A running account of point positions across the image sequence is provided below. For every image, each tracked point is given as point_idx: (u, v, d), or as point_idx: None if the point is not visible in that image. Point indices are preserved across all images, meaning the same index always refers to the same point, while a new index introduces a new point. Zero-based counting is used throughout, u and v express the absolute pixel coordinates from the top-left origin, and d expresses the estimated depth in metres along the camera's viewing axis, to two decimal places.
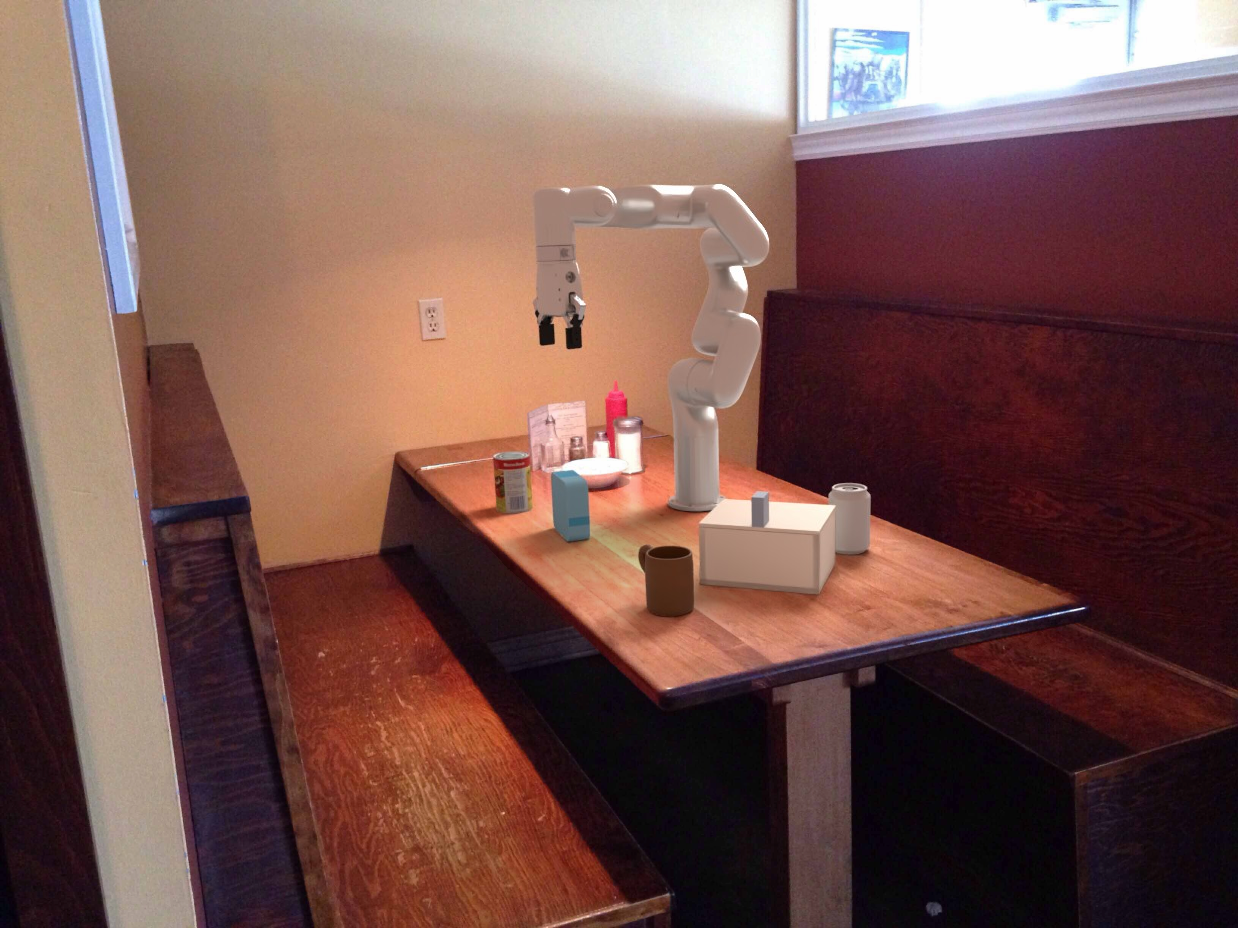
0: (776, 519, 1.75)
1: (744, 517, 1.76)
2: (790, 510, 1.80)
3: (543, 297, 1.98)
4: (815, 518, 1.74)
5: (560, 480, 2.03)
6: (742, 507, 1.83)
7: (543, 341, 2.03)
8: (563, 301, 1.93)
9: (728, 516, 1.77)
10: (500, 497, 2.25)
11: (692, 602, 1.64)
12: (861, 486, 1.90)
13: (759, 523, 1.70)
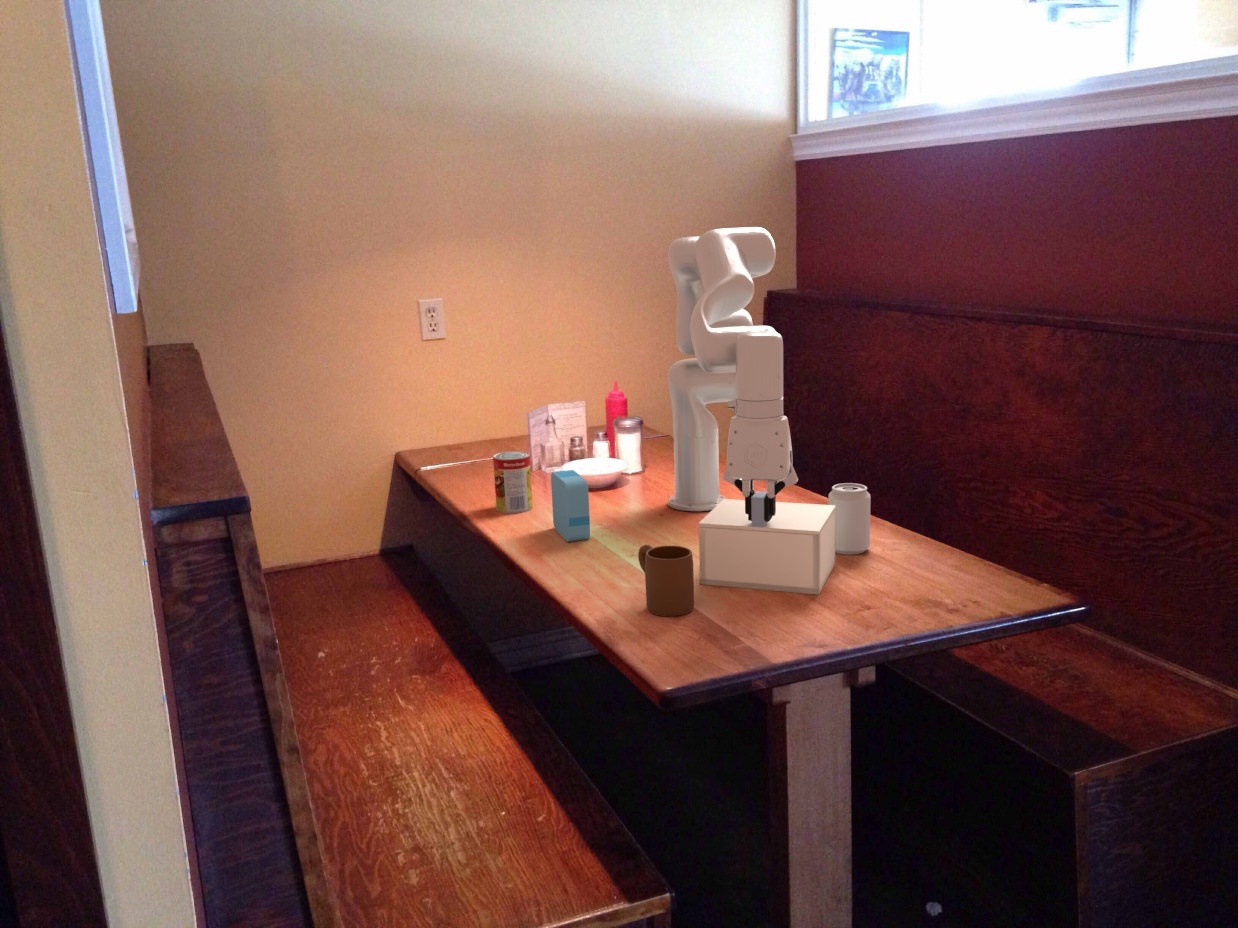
0: (776, 519, 1.75)
1: (744, 517, 1.76)
2: (790, 510, 1.80)
3: None
4: (815, 518, 1.74)
5: (560, 480, 2.03)
6: (742, 507, 1.83)
7: None
8: None
9: (728, 516, 1.77)
10: (500, 497, 2.25)
11: (692, 602, 1.64)
12: (861, 486, 1.90)
13: (759, 523, 1.70)
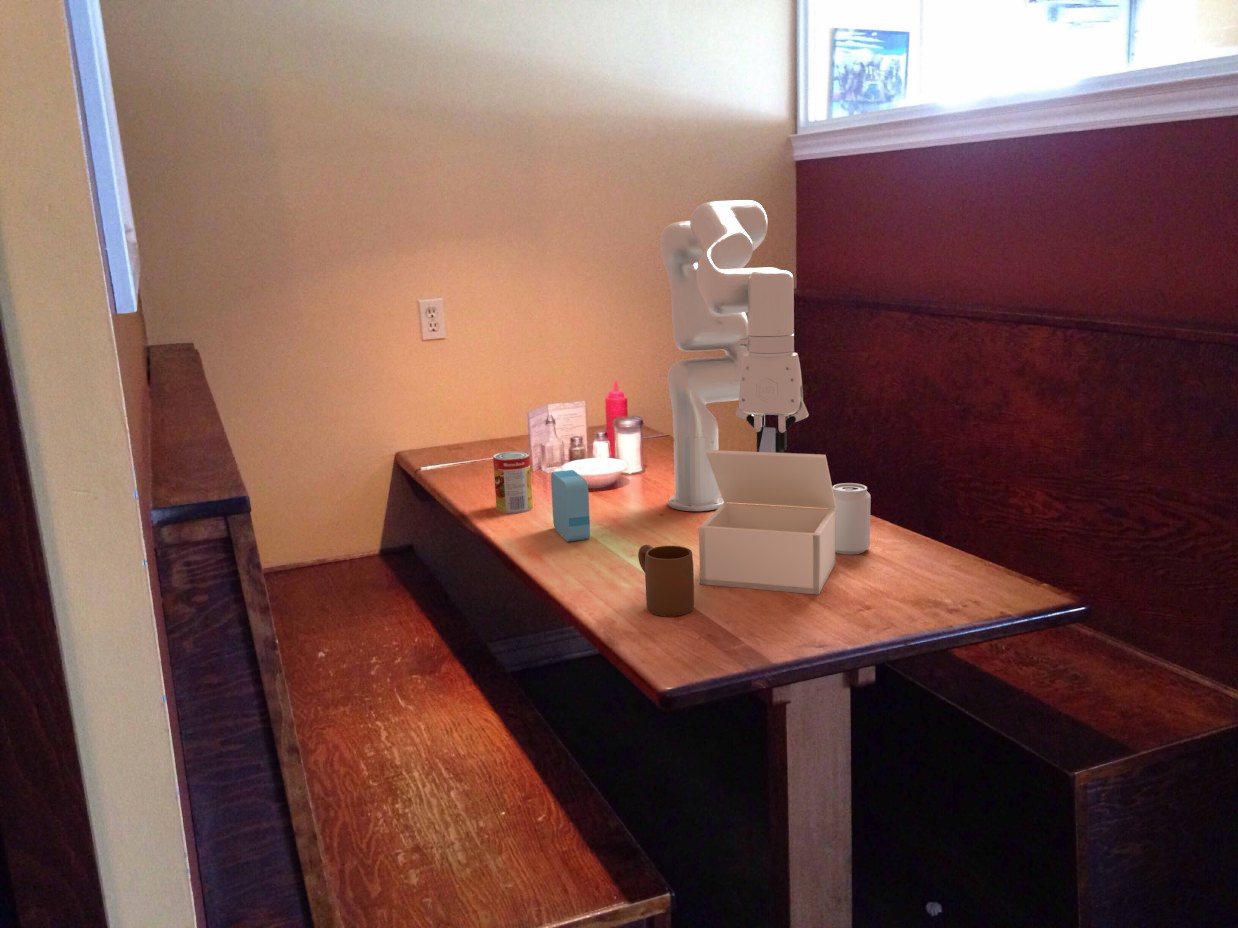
0: None
1: None
2: None
3: None
4: None
5: (560, 480, 2.03)
6: None
7: None
8: None
9: None
10: (500, 497, 2.25)
11: (692, 602, 1.64)
12: (861, 486, 1.90)
13: (767, 449, 1.73)
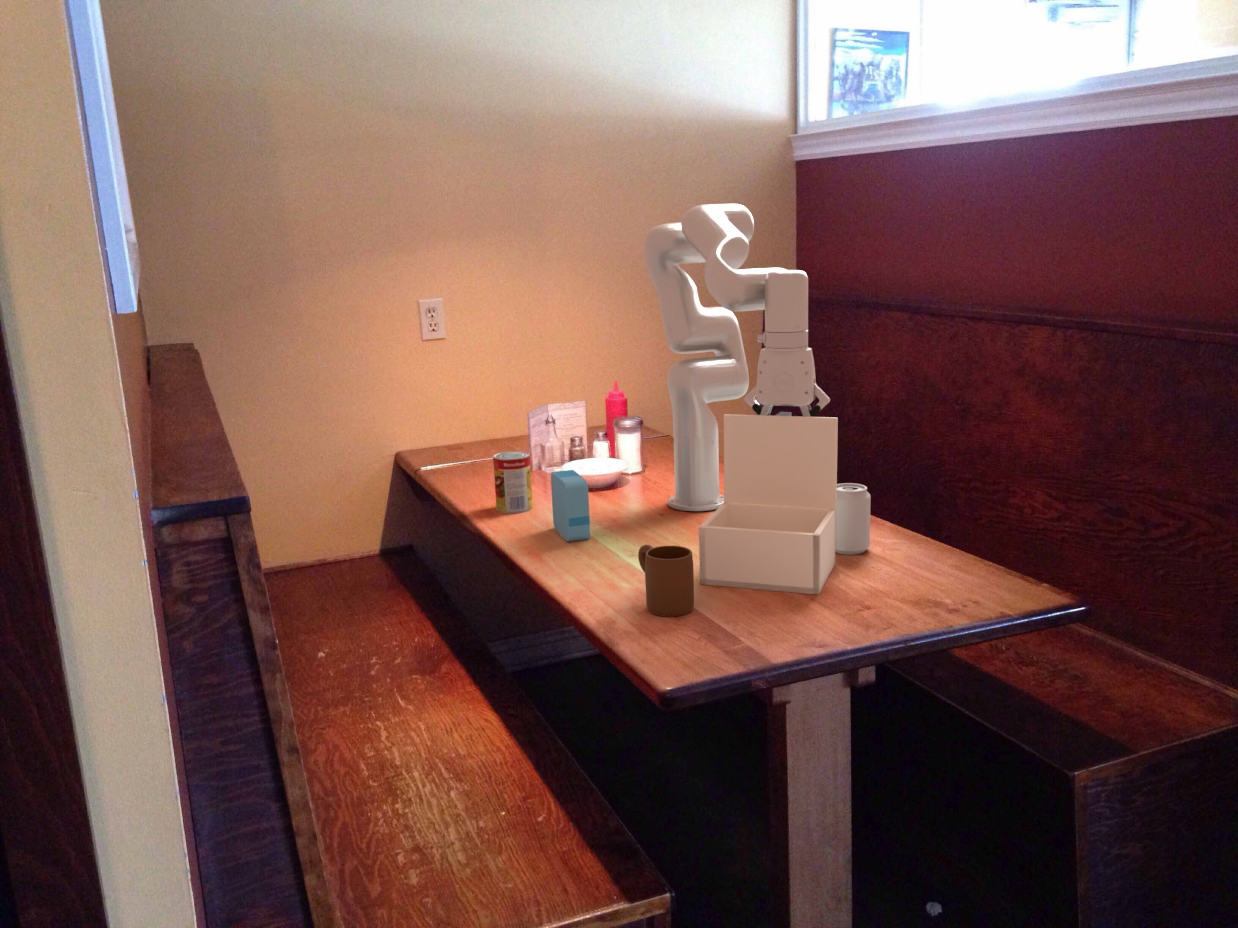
0: None
1: None
2: None
3: None
4: None
5: (560, 480, 2.03)
6: None
7: None
8: None
9: None
10: (500, 497, 2.25)
11: (692, 602, 1.64)
12: (861, 486, 1.90)
13: (782, 415, 1.83)
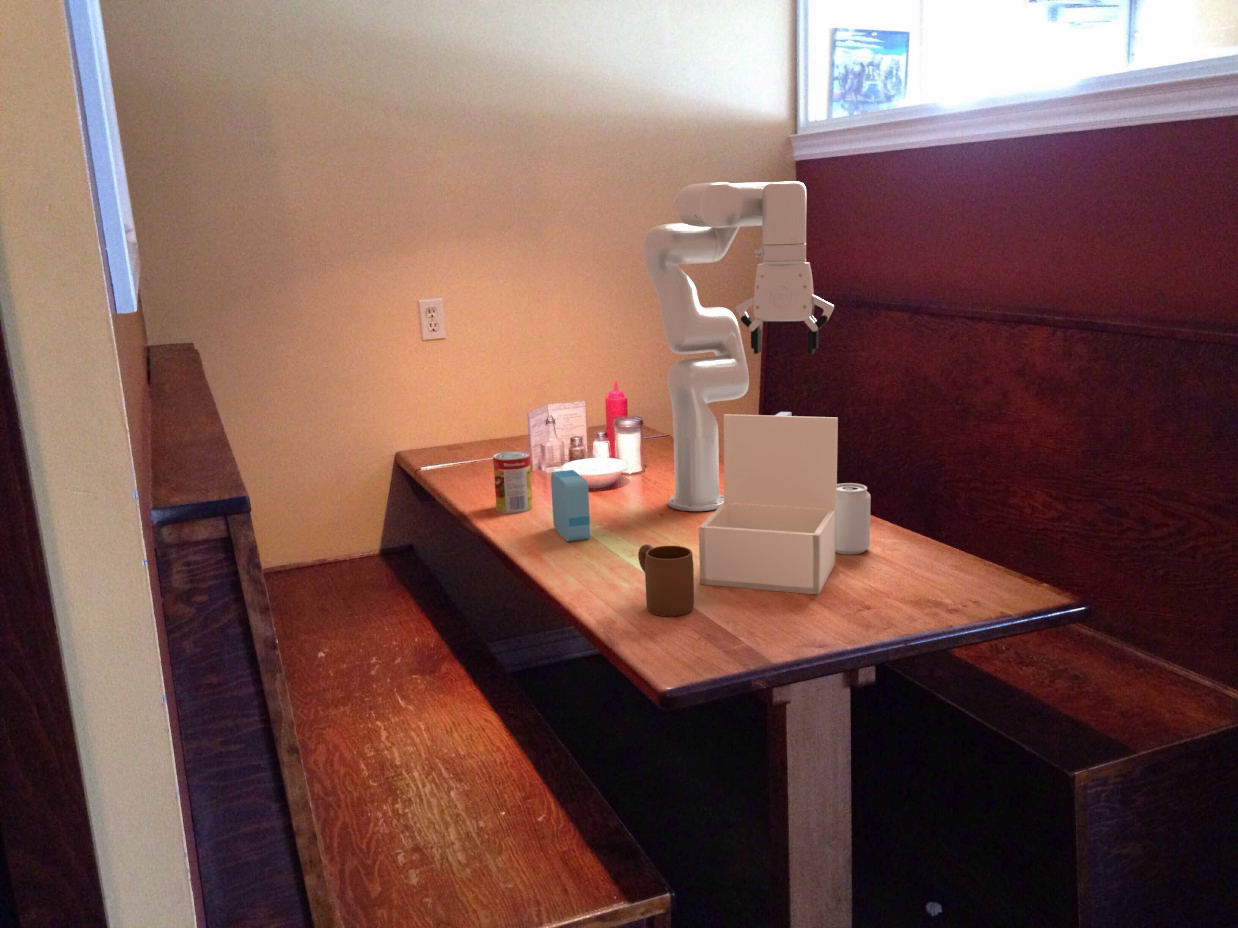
0: None
1: None
2: None
3: None
4: None
5: (560, 480, 2.03)
6: None
7: None
8: None
9: None
10: (500, 497, 2.25)
11: (692, 602, 1.64)
12: (861, 486, 1.90)
13: (782, 415, 1.83)
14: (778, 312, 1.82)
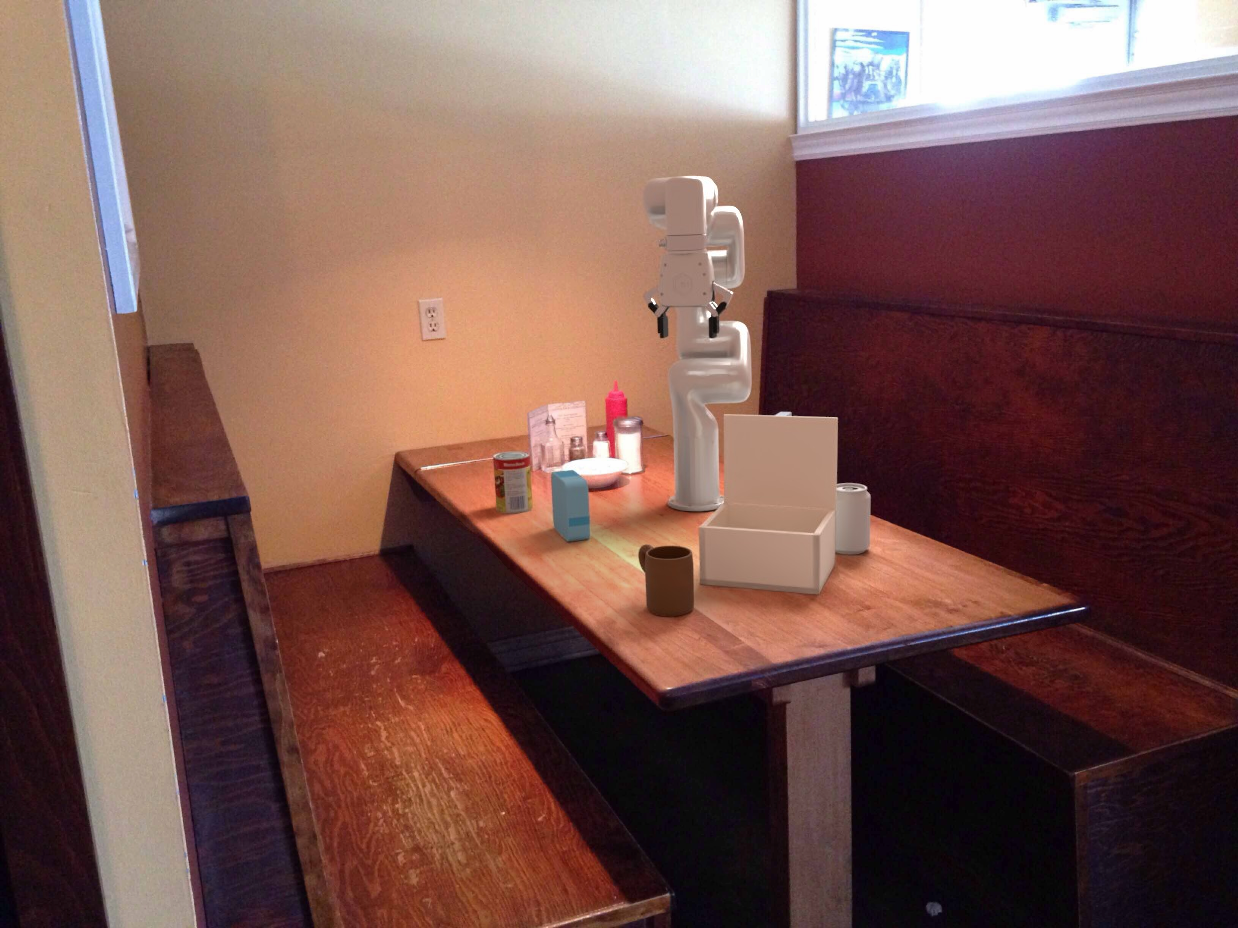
0: None
1: None
2: None
3: None
4: None
5: (560, 480, 2.03)
6: None
7: None
8: None
9: None
10: (500, 497, 2.25)
11: (692, 602, 1.64)
12: (861, 486, 1.90)
13: (782, 415, 1.83)
14: (680, 299, 1.94)
